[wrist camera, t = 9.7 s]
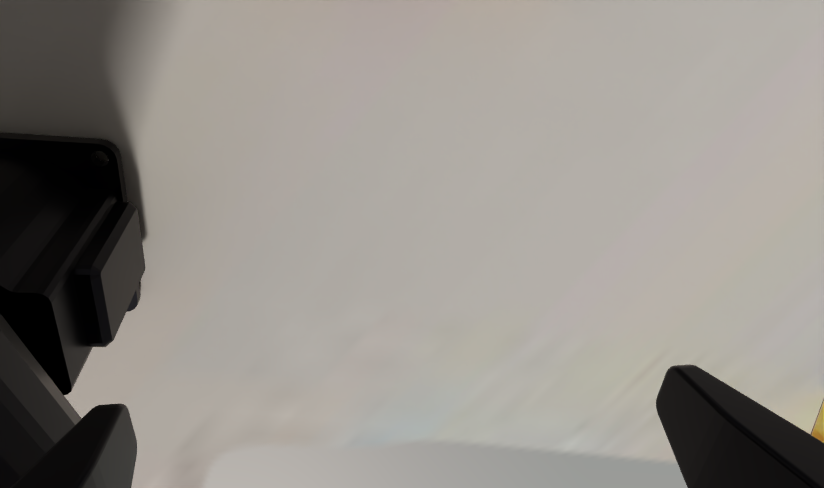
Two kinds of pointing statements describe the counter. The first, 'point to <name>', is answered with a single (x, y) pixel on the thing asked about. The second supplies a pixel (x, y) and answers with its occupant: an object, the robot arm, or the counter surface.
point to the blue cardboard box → (819, 425)
